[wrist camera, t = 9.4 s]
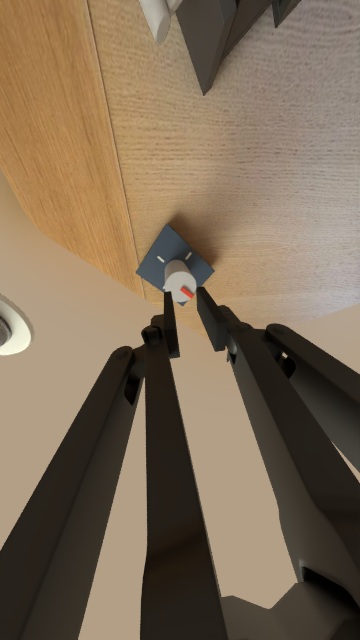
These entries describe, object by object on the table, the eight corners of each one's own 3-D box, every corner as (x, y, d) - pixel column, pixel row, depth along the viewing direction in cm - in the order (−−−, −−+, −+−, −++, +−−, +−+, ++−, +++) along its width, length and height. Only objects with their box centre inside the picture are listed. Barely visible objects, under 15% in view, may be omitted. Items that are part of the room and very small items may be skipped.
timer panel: (138, 269, 27) (135, 272, 25) (166, 224, 24) (166, 222, 21) (181, 300, 32) (182, 306, 30) (210, 267, 29) (215, 271, 26)
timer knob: (160, 273, 26) (158, 291, 18) (174, 254, 24) (178, 264, 16) (177, 287, 27) (182, 308, 20) (191, 270, 26) (203, 285, 18)
